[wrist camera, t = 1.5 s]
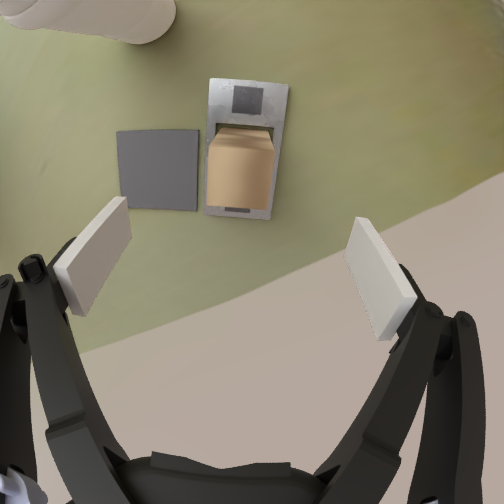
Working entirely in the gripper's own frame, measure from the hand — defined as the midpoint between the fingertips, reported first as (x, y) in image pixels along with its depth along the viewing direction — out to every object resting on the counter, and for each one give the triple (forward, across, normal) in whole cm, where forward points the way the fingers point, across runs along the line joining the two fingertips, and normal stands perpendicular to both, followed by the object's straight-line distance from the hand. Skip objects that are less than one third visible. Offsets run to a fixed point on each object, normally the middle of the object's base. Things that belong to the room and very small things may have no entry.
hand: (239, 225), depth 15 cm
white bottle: (+17, -12, +16) cm, 27 cm away
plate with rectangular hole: (+17, 0, 0) cm, 17 cm away
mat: (+17, -10, -3) cm, 20 cm away
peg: (+17, 0, 0) cm, 17 cm away
